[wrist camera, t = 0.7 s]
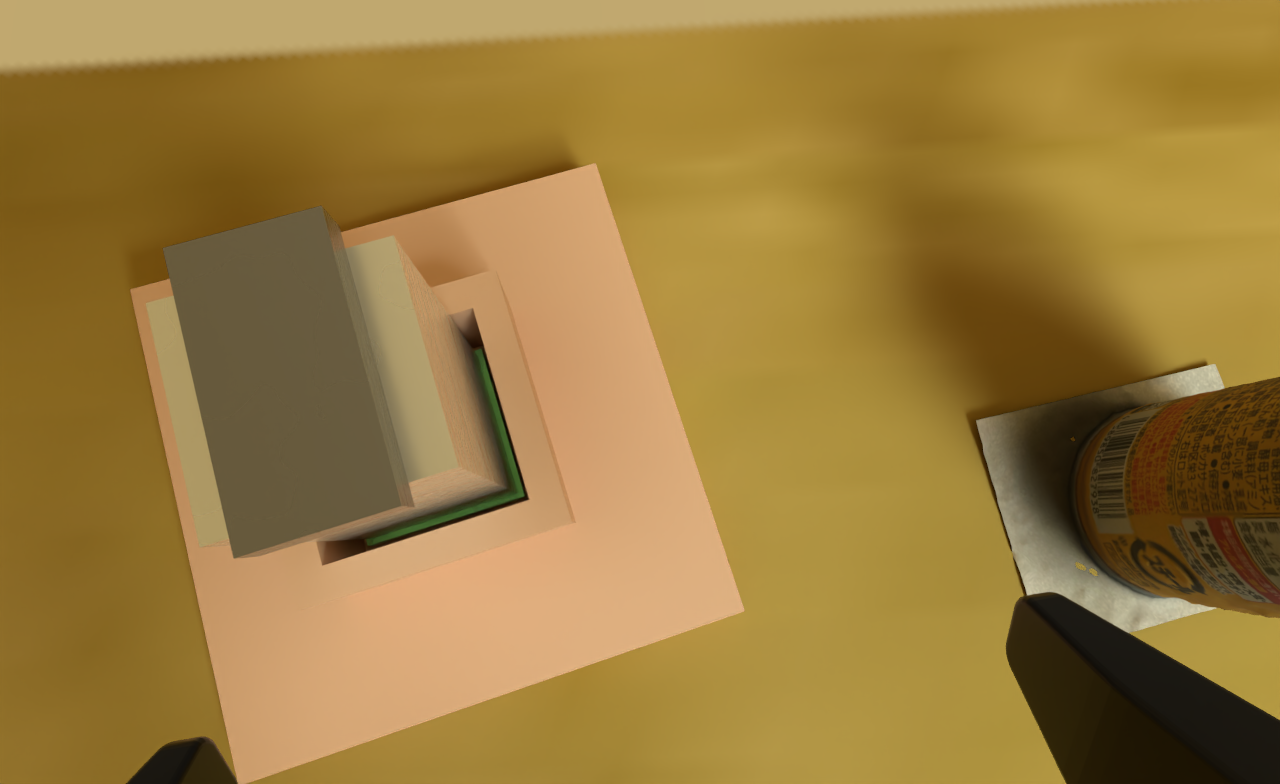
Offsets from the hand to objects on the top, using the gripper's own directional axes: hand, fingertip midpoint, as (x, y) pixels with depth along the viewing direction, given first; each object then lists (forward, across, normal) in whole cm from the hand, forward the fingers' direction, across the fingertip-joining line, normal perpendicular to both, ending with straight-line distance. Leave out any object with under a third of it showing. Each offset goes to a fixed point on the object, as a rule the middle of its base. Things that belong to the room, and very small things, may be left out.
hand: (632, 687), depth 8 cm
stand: (+14, +5, +5) cm, 16 cm away
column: (+13, +5, +4) cm, 14 cm away
